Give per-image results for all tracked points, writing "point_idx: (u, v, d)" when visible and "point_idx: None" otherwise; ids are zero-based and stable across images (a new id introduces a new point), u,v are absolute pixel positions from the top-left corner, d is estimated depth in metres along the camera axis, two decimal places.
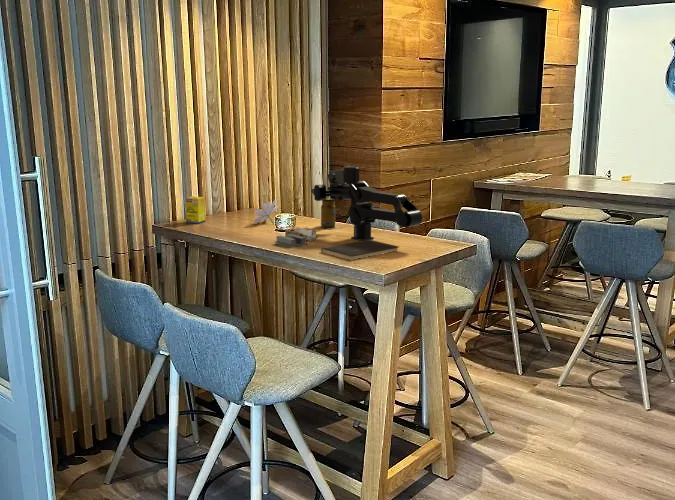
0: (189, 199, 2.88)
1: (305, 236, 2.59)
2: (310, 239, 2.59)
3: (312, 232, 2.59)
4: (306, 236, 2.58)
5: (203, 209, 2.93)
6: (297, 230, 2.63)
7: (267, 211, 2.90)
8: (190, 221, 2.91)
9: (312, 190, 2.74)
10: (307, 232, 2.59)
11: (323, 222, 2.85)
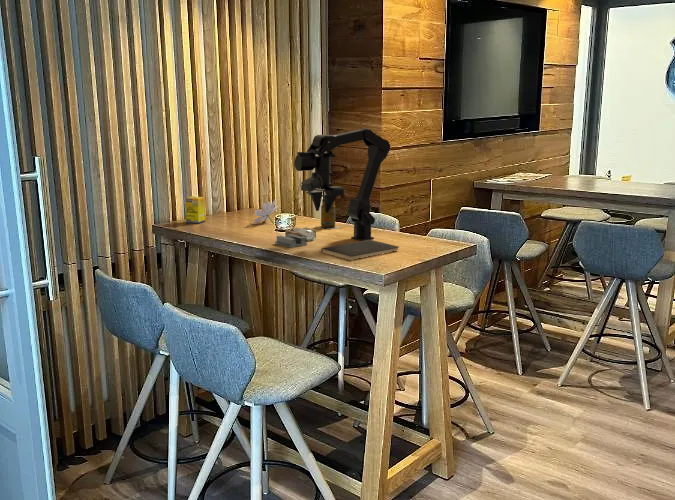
0: (189, 199, 2.88)
1: (305, 237, 2.58)
2: (310, 239, 2.59)
3: (311, 232, 2.58)
4: (305, 237, 2.58)
5: (203, 209, 2.93)
6: (296, 231, 2.63)
7: (267, 211, 2.90)
8: (190, 221, 2.91)
9: (327, 208, 2.49)
10: (306, 233, 2.58)
11: (323, 222, 2.85)
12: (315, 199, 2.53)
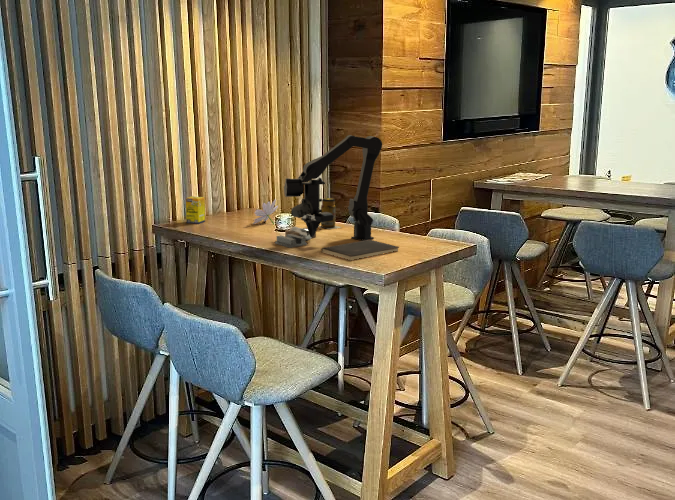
0: (189, 199, 2.88)
1: None
2: (307, 238, 2.60)
3: (307, 231, 2.59)
4: None
5: (203, 209, 2.93)
6: None
7: (267, 211, 2.90)
8: (190, 221, 2.91)
9: (312, 233, 2.58)
10: (302, 233, 2.59)
11: (323, 222, 2.85)
12: (309, 225, 2.58)
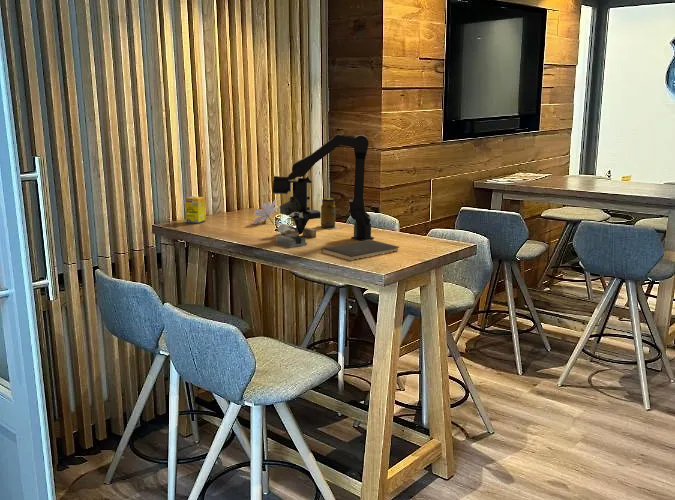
0: (189, 199, 2.88)
1: None
2: None
3: (295, 228, 2.65)
4: None
5: (203, 209, 2.93)
6: (281, 228, 2.69)
7: (267, 211, 2.90)
8: (190, 221, 2.91)
9: (301, 230, 2.63)
10: (291, 230, 2.65)
11: (323, 222, 2.85)
12: (297, 223, 2.63)
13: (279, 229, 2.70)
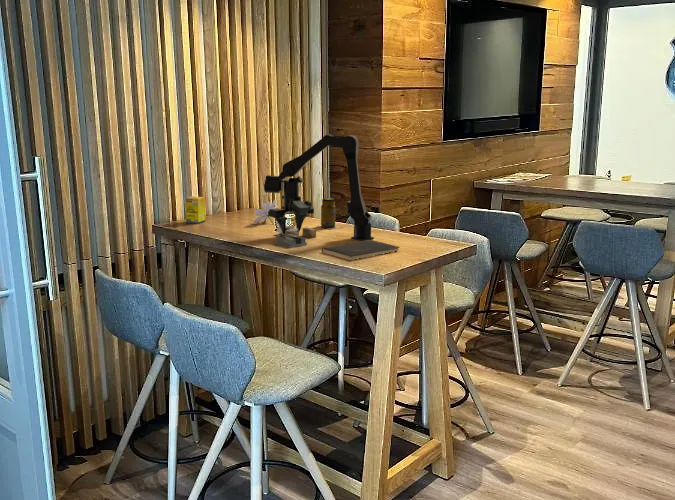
0: (189, 199, 2.88)
1: None
2: None
3: (293, 229, 2.64)
4: None
5: (203, 209, 2.93)
6: (280, 230, 2.69)
7: (267, 211, 2.90)
8: (190, 221, 2.91)
9: None
10: None
11: (323, 222, 2.85)
12: None
13: (278, 231, 2.70)
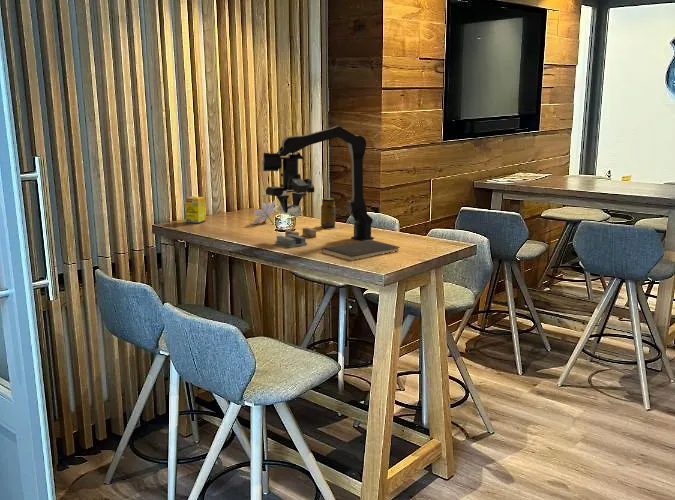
0: (189, 199, 2.88)
1: (290, 211, 2.53)
2: (295, 214, 2.53)
3: (297, 207, 2.53)
4: (291, 211, 2.53)
5: (203, 209, 2.93)
6: None
7: (267, 211, 2.90)
8: (190, 221, 2.91)
9: None
10: (292, 207, 2.53)
11: (323, 222, 2.85)
12: None
13: (280, 207, 2.58)
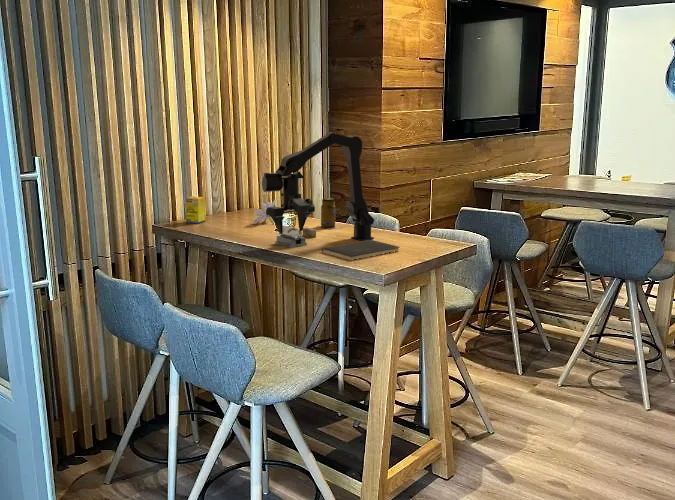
0: (189, 199, 2.88)
1: (291, 235, 2.49)
2: (296, 238, 2.49)
3: (297, 230, 2.49)
4: (291, 235, 2.48)
5: (203, 209, 2.93)
6: None
7: None
8: (190, 221, 2.91)
9: None
10: (292, 231, 2.49)
11: (323, 222, 2.85)
12: None
13: None
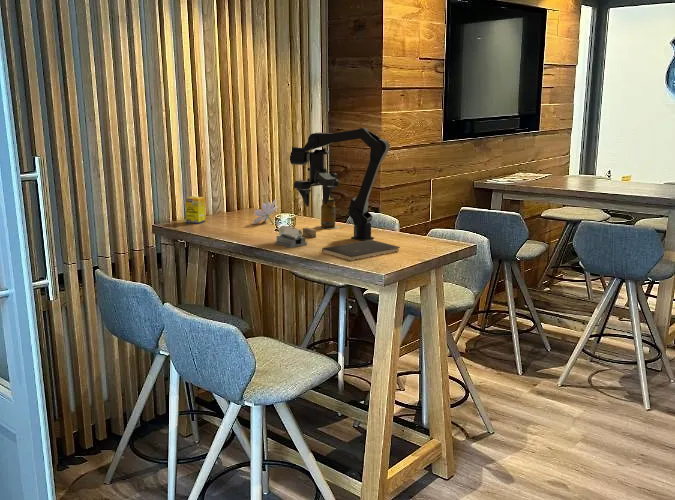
0: (189, 199, 2.88)
1: (291, 235, 2.49)
2: (296, 238, 2.49)
3: (297, 230, 2.49)
4: (291, 235, 2.48)
5: (203, 209, 2.93)
6: (282, 229, 2.53)
7: (266, 211, 2.89)
8: (190, 221, 2.91)
9: None
10: (292, 231, 2.49)
11: (323, 222, 2.85)
12: None
13: (280, 230, 2.54)
